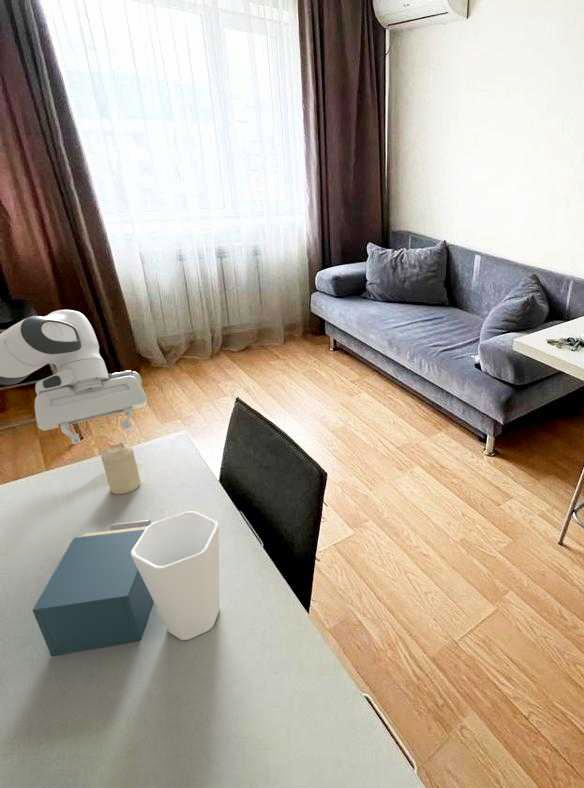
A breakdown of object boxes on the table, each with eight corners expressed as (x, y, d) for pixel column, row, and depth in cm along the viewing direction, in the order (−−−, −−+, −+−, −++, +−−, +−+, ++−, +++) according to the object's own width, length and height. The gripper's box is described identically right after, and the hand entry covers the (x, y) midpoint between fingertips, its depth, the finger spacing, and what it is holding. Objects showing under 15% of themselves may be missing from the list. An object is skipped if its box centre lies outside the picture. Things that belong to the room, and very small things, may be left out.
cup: (140, 630, 76) (115, 546, 69) (196, 582, 84) (179, 503, 77) (192, 662, 72) (171, 577, 65) (245, 608, 80) (232, 528, 73)
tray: (105, 547, 88) (94, 514, 85) (169, 539, 91) (161, 506, 88) (62, 633, 73) (48, 597, 70) (140, 621, 76) (130, 585, 73)
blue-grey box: (88, 580, 83) (73, 537, 79) (164, 569, 86) (154, 527, 82) (51, 656, 71) (32, 610, 67) (141, 641, 74) (127, 595, 70)
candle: (104, 491, 103) (92, 451, 99) (125, 475, 108) (115, 437, 104) (126, 496, 102) (115, 456, 98) (147, 480, 107) (137, 442, 103)
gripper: (136, 373, 120) (154, 425, 117) (28, 395, 106) (46, 454, 104) (138, 363, 115) (156, 418, 113) (26, 385, 102) (43, 447, 99)
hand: (102, 435), depth 108 cm, fingers open, 8 cm apart
